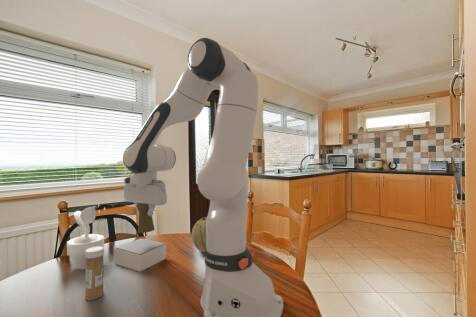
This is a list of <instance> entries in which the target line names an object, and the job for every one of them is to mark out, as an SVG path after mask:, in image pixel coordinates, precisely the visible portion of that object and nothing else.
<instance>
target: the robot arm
mask: <svg viewBox="0 0 476 317" xmlns="http://www.w3.org/2000/svg"><path fill="white" fill-rule="evenodd" d="M215 90H219V96H218V101H217V105H216V106H217V107H216V113H215V119H214V124H213V131H212V136H211V139H210V142H209V145H208V149H207V151H206V154H205V157H204V161H203V164H202V167H201V168H200V170H199V171H198V174H197V179H196V181H197V188H198V191H199V192H200V194H201V195H202V196H203V197H204V198H205V199H207V200H208V201H209V206H208V207H209V208H208V212H207V216H206V217H207V220H206V248H205V252H204V264H205V274H204V275H205V276H204V281H203V288H202V293H201V297H200V300H199V302H200V306H201V308H202V310H203V317H282V314H283V311H284V300H283V297H282V296H281V295H278V294H277V293H275V287H274V283H273V280H272V279H271V278H270V277H269V276H268V275H267V274H266V273H265V272H263V270H262V269H260V268H259V267H258V266H257V265H256V264H255V263H254V262H253V257H255V250H253V251H252V252H250V250H249V249H248V247H247V212H248V211H247V209H248V195H249V194H248V193H249V192H248V190H249V186H248V185H249V173H248V169H247V163H248V158H249V155H250V154H249V153H250V149H251V146H252V142H253V136H254V131H255V125H256V118H257V112H258V104H259V103H258V102H259V80H258V77H257V76H256V74H255V73H254V72H253V71H252V70H251V68H250V67H249V66H248V64H246V63H245V62H244V61H242V60H241V59H240V58H239V57H238V56H237V55H235V53H234V52H233V51H231V50H229V49H228V48H226V47H225V46H223V45H222V44H219V42H217V41H216V40H213V39H211V38H208V37H201V38H198V39H197V40H196V41H195V42H194V43H192V45H191V47H190V48H189V51H188V54H187V67H186V68H185V69H184V71H183V72H182V73H181V76H180V78H179V79H178V80H177V83H176V85H175V87H174V89H173V91H172V92H171V93H170V95H169V96H168V98H167V99H165V100H164V101H163V102H160V103H159V104H157V106H155V108H154V109H153V111H152V112H151V113H150V114H149V116H148V118H147V119H146V121H145V123H144V124H143V126H142V127H141V129H140V130H139V131H138V133H137V135H136V137H135V138H134V139H133V141H132V142H131V143H130V144H129V145H128V146H127V147H126V149H125V151H124V152H123V155H122V162H123V164H124V166H125V167H126V169H127V170H128V171H129V172H131V173H132V174H131V175H129V176H126V177H125V178H124V179H123V183H124V186H123V198H124V201H125V202H128V203H133V204H134V207H135V209H136V214H137V215H139V211H138V208H137V207H138V204H139V203H143V204H149V207H150V208H149V210H148V211H147V215H148V216H152V217H153V216H154V211H155V208H156V206H164V205H166V204H167V203H168V202H167V201H168V196H167V189H166V184H165V182H164V181H163V180H161V179H158V172H168V171H171V170H172V169H173V168H174V166H175V165H176V161H177V156H176V151H175V150H174V149H173V148H172V147H171V146H167V145H165V144H161V143H159V142H158V141H157V140H158V139H159V137H160V135H161V134H162V133H163V131H164V130H166V128H168V127H170V126H173V125H176V124H181V123H186V122H190V121H193V120H195V119H197V117H199V115H200V114H201V113H202V111H203V109H204V107H205V106H206V103H207V101H208V98H209V96H210V95H211V93H212V92H214V91H215Z"/></svg>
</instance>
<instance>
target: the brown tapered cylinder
mask: <svg viewBox="0 0 476 317" xmlns="http://www.w3.org/2000/svg"><path fill="white" fill-rule="evenodd" d="M137 208H138V211H139V214H138V224H137V226H138V227H137V233H138V234H145V233H149V232H153V231H155V230H156V229H155V224H154V220H153V215H152V216H148V215H147V211H148V210H149V208H150V207H149V204H143V203H139V204H138V207H137Z"/></svg>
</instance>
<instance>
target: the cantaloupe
mask: <svg viewBox="0 0 476 317" xmlns="http://www.w3.org/2000/svg"><path fill="white" fill-rule="evenodd" d="M206 220H207V216H205V217H204V216H203V217H201V218H200V219H199V220H197V221H196V222H195V223H194V225H193V227H192V229H191V240H192V243H193V245H194V247H195V248H196V249H197V250H198V251H200V252H201V253H202V252H203V253H205V248H206Z"/></svg>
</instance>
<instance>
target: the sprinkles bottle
mask: <svg viewBox="0 0 476 317" xmlns="http://www.w3.org/2000/svg"><path fill="white" fill-rule="evenodd" d="M104 255H105V246H104V247H101V246H98V247H92V248H89V249H87V250H86V251H85V258H86V269H85V283H84V284H85V296H84V297H85V300H87V301H95V300H97V299H99V298H101V297H102V296H103V295H104V293H105V291H104Z"/></svg>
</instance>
